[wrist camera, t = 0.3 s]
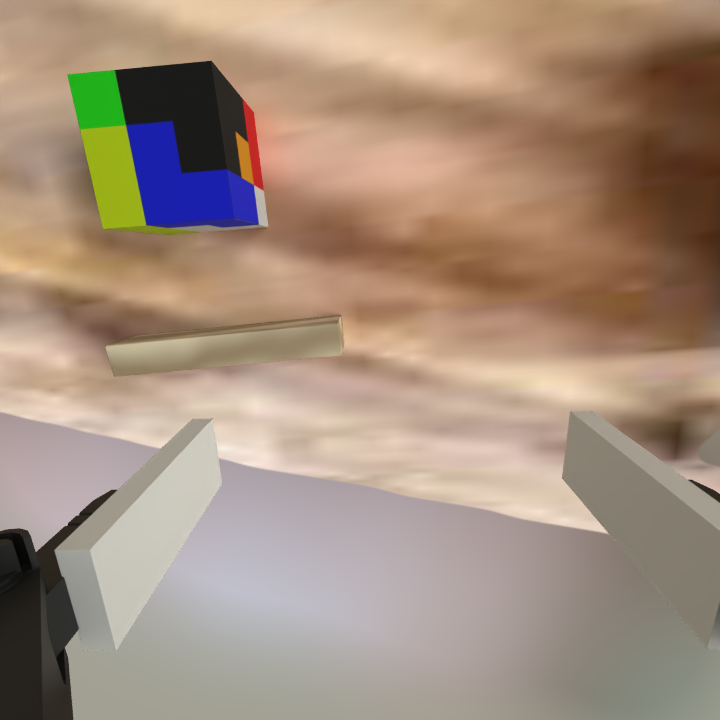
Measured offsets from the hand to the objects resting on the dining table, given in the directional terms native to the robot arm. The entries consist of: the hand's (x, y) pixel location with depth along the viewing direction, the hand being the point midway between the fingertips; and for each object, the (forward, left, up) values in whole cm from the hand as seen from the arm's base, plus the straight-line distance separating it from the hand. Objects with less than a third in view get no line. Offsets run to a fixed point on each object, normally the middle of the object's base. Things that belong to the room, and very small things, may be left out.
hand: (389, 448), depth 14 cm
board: (0, -15, -27) cm, 31 cm away
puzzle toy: (-16, -15, -27) cm, 35 cm away
